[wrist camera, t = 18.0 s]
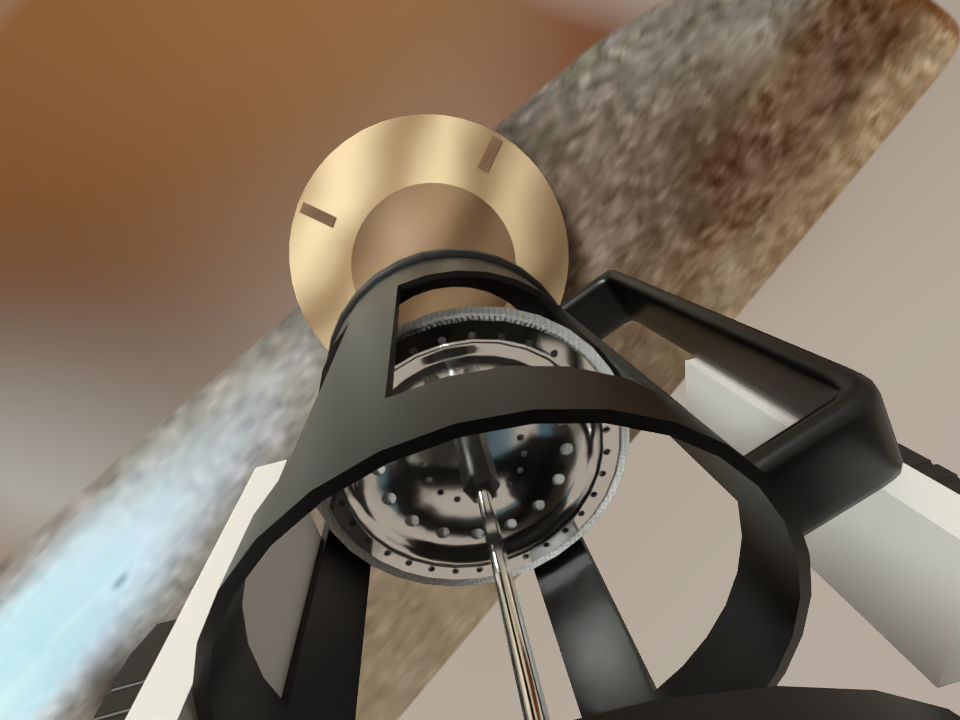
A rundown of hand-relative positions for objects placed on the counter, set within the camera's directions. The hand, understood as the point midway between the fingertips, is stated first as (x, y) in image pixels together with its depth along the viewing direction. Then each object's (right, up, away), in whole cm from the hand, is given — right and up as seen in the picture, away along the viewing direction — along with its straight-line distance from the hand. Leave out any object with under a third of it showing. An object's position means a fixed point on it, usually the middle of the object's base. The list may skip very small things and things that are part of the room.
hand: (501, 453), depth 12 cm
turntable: (-4, +10, +26) cm, 28 cm away
